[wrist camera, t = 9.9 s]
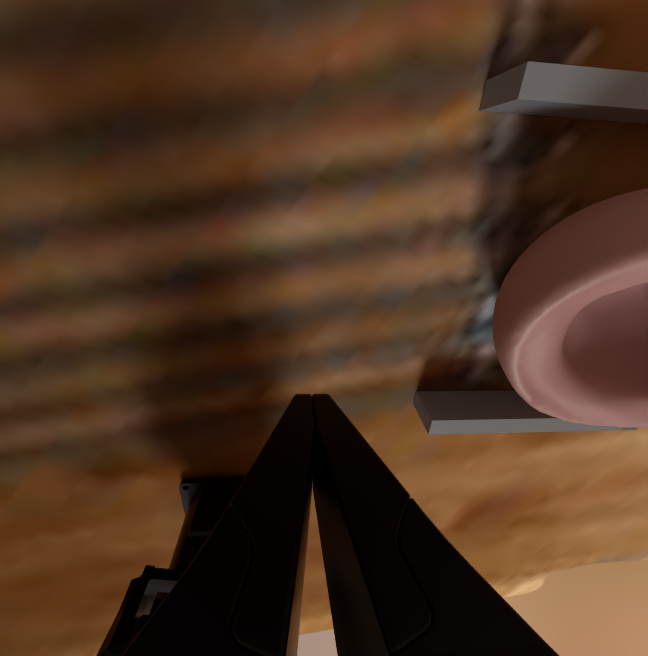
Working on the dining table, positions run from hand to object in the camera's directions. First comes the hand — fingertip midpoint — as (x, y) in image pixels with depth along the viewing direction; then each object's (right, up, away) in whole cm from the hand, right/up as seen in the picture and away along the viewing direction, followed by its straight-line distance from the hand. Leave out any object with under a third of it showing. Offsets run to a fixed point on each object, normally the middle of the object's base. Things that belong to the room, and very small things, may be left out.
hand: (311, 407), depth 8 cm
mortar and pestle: (+14, +5, +12) cm, 19 cm away
